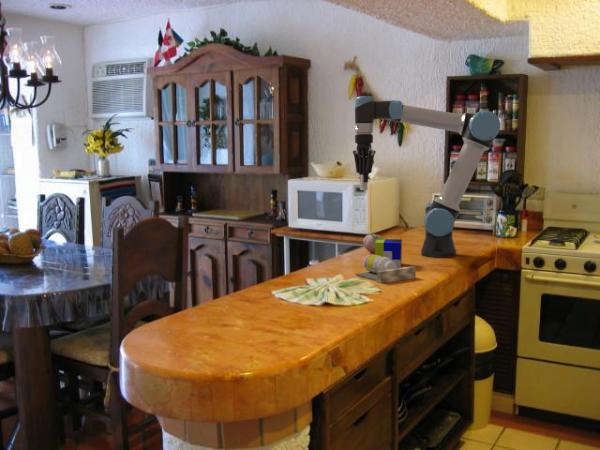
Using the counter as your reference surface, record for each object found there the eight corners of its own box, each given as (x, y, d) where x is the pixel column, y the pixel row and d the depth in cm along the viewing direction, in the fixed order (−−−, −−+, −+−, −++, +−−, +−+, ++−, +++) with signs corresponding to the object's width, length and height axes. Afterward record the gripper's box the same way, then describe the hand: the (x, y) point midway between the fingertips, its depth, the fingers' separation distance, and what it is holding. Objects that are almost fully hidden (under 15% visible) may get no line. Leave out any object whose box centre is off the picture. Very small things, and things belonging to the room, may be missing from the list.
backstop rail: (411, 277, 225) (411, 266, 225) (415, 278, 223) (415, 267, 223) (376, 282, 217) (377, 271, 216) (380, 283, 215) (380, 272, 215)
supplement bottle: (379, 263, 236) (401, 269, 225) (367, 274, 234) (389, 280, 223) (372, 250, 234) (394, 255, 223) (360, 260, 231) (381, 266, 220)
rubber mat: (385, 271, 237) (385, 269, 236) (409, 277, 225) (409, 275, 225) (355, 275, 229) (355, 273, 229) (379, 281, 217) (379, 280, 217)
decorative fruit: (386, 254, 274) (386, 232, 273) (370, 256, 271) (370, 233, 270) (376, 251, 283) (376, 229, 282) (360, 252, 280) (360, 231, 279)
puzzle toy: (400, 268, 243) (400, 243, 242) (374, 267, 245) (375, 242, 244) (401, 263, 253) (401, 239, 252) (376, 263, 255) (377, 239, 254)
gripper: (347, 134, 263) (347, 189, 266) (366, 133, 252) (366, 191, 255) (361, 134, 267) (361, 188, 270) (380, 133, 256) (380, 190, 259)
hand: (363, 189), depth 262 cm, fingers closed
